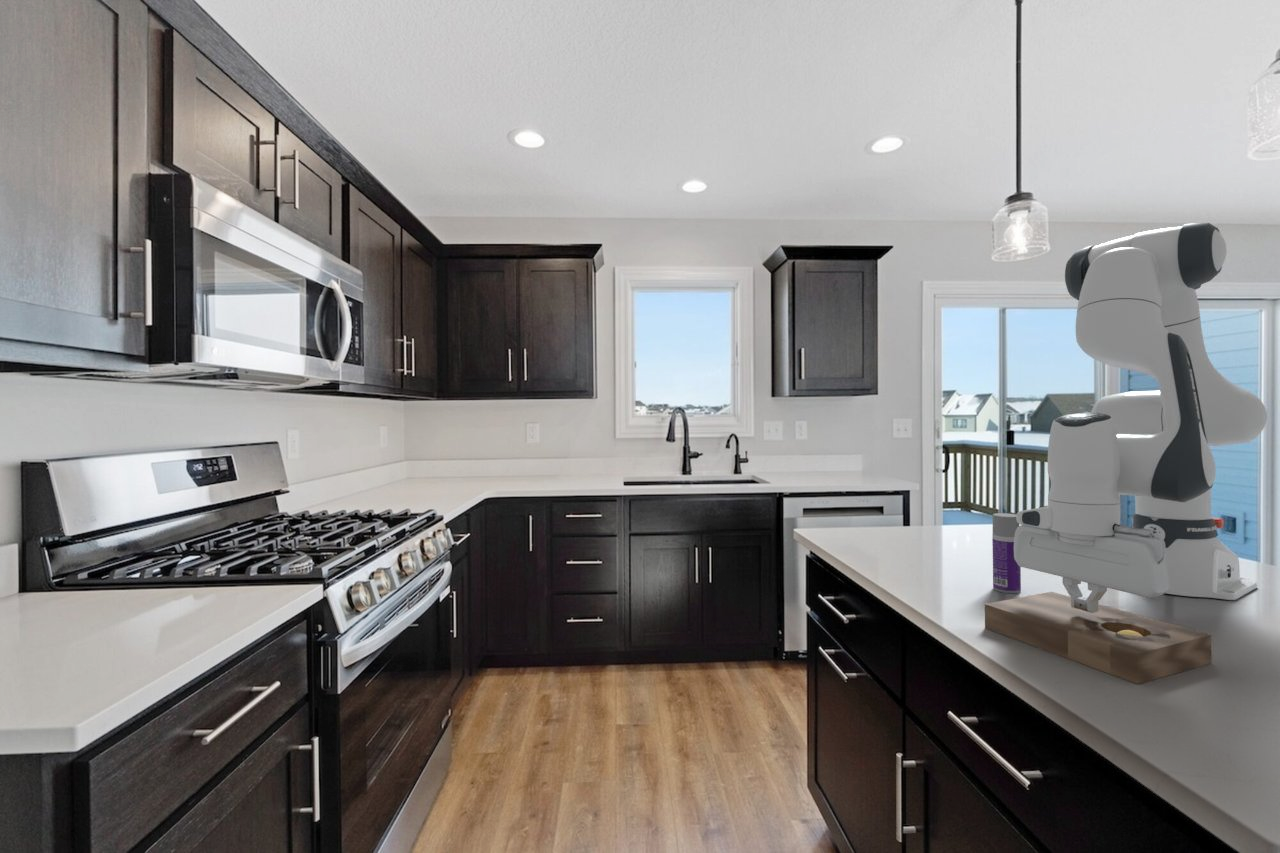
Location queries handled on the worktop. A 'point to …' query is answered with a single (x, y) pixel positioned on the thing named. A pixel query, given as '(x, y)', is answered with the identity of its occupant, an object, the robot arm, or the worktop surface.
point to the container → (1005, 554)
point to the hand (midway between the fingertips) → (1084, 609)
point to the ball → (1129, 633)
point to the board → (1100, 636)
